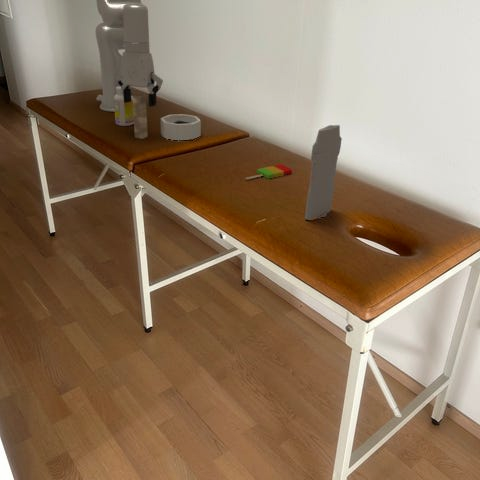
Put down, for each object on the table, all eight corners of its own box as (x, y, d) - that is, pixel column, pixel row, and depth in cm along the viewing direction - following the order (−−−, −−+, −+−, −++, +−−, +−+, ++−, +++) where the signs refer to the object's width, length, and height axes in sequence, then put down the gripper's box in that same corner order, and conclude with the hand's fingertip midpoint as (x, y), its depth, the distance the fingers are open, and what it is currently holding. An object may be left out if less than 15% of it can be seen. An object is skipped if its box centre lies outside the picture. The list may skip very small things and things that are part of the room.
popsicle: (293, 175, 149) (293, 169, 148) (251, 185, 141) (252, 178, 140) (280, 169, 153) (281, 163, 152) (240, 178, 145) (240, 172, 144)
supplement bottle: (136, 122, 188) (134, 86, 182) (131, 127, 183) (129, 90, 176) (118, 120, 189) (116, 85, 183) (113, 125, 183) (110, 88, 177)
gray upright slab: (323, 206, 129) (335, 119, 119) (337, 211, 127) (350, 123, 116) (297, 218, 122) (307, 127, 112) (311, 224, 120) (323, 131, 109)
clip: (168, 133, 174) (168, 123, 173) (177, 129, 179) (177, 119, 178) (183, 136, 172) (183, 126, 171) (192, 131, 177) (192, 122, 176)
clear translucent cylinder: (134, 137, 172) (132, 95, 165) (140, 135, 174) (138, 93, 168) (142, 139, 171) (140, 96, 164) (147, 136, 173) (145, 94, 167)
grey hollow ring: (155, 137, 173) (154, 120, 171) (174, 128, 184) (174, 112, 181) (187, 143, 169) (187, 126, 166) (205, 134, 179) (206, 118, 176)
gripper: (106, 46, 159) (111, 102, 167) (153, 51, 153) (156, 109, 161) (121, 44, 165) (125, 98, 173) (167, 49, 159) (169, 105, 167)
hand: (140, 103), depth 167 cm, fingers open, 9 cm apart
